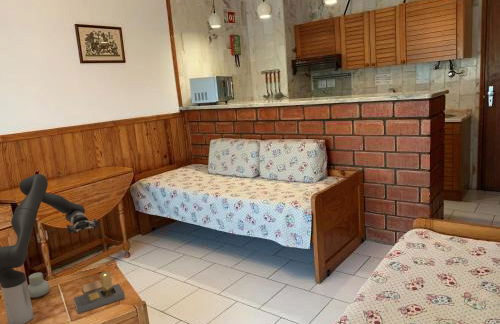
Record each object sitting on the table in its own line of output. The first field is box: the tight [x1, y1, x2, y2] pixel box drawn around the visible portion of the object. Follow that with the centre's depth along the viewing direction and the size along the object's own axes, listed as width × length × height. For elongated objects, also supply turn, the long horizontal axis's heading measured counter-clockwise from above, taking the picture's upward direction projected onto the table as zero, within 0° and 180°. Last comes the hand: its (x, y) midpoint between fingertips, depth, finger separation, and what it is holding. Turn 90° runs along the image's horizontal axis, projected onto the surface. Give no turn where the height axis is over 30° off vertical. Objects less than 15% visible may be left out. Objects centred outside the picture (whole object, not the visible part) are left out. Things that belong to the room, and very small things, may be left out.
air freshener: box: [27, 271, 51, 298], centre depth 188 cm, size 11×8×10 cm
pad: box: [81, 280, 102, 295], centre depth 189 cm, size 8×8×2 cm
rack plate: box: [73, 283, 126, 315], centre depth 179 cm, size 20×10×3 cm, turn 121°
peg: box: [99, 271, 113, 297], centre depth 180 cm, size 4×4×12 cm
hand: (85, 229), depth 191 cm, fingers open, 8 cm apart
